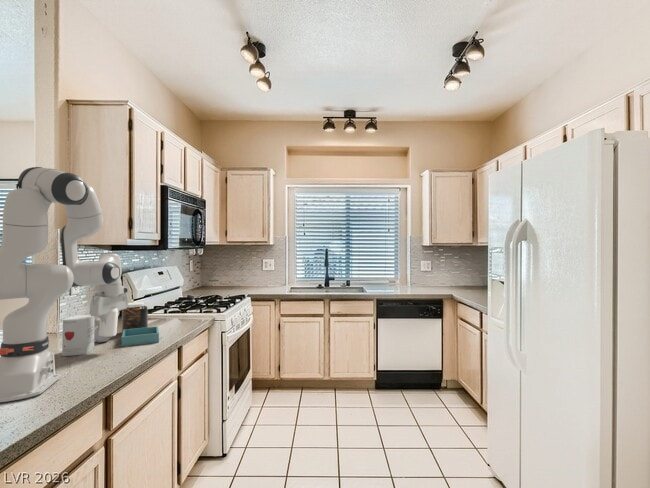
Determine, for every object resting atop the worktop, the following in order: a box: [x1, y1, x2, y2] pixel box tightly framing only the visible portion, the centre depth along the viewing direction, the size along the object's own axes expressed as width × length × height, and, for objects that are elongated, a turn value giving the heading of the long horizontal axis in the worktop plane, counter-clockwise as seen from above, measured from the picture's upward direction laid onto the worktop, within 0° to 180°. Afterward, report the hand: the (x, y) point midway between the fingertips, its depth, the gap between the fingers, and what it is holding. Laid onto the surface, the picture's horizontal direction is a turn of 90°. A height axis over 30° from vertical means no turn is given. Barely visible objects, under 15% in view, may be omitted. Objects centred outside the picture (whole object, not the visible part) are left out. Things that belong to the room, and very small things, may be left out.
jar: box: [121, 301, 149, 334], centre depth 180 cm, size 12×12×15 cm
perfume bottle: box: [94, 317, 112, 344], centre depth 162 cm, size 8×10×12 cm
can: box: [98, 307, 119, 338], centre depth 148 cm, size 6×6×12 cm
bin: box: [121, 325, 160, 347], centre depth 165 cm, size 15×15×4 cm
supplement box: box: [61, 314, 96, 357], centre depth 147 cm, size 9×9×15 cm
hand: (109, 323), depth 149 cm, fingers closed on can, 5 cm apart
